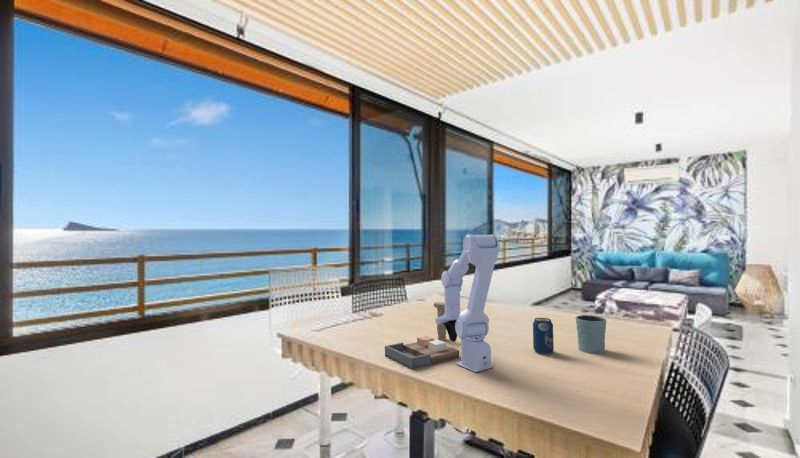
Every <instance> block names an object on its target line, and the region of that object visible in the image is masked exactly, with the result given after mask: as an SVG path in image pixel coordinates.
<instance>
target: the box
mask: <svg viewBox="0 0 800 458" xmlns="http://www.w3.org/2000/svg"><path fill="white" fill-rule="evenodd" d="M404 345H405V344H404V342H398V343H393V344H388V345H385V346H384V356H385V357H387V358H389V359H390V360H393V361H395V363H399V364H400V365H402V366H404V367H406V368H407V369H410V370H415V369H421V368H423V367H427V366H431V365H432V366H433V364H432V363H431V356H430V354H425V355H421V356H415V355H413V354H411V353H409V352H406V351H404Z"/></svg>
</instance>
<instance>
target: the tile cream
mask: <svg viewBox="0 0 800 458" xmlns="http://www.w3.org/2000/svg"><path fill="white" fill-rule="evenodd" d="M446 346H447V342H445V341H444V340H439V339H436V340H434V341H430V342H428V349H430V350H433V351H435V352H438V351H443V350H446Z"/></svg>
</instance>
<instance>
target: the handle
mask: <svg viewBox="0 0 800 458" xmlns="http://www.w3.org/2000/svg"><path fill="white" fill-rule="evenodd" d="M433 307H434V308H436V310H437V313H436V314H437V316H436V318H437V317H441V316H443V315H444V314H445V301H441V302H439V301H438V302H437V301H435V302H433ZM436 330H437V331H436V332H437V340H440V341H445V340H446V339H447V329H446V327H445V325H444V324H443V323H441V324H437V323H436Z"/></svg>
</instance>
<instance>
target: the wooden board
mask: <svg viewBox="0 0 800 458" xmlns="http://www.w3.org/2000/svg"><path fill="white" fill-rule="evenodd" d="M404 351H406V352H409V353H411V354H413V355H415V356H421V355H425V354H430V356H431V363H432V365H435V364H439V363H443V362H447V361H451V360H454V359H459V358H460V349H457V348H454V347H451V346H449V345H446V350H443V351H438V352H435V351H433V350H430V349H428V346H427V347H423V346H420V345H418V344H417V341H416V342H411V343H406V344H404Z"/></svg>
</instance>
